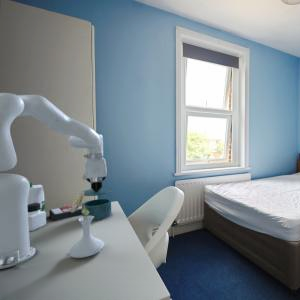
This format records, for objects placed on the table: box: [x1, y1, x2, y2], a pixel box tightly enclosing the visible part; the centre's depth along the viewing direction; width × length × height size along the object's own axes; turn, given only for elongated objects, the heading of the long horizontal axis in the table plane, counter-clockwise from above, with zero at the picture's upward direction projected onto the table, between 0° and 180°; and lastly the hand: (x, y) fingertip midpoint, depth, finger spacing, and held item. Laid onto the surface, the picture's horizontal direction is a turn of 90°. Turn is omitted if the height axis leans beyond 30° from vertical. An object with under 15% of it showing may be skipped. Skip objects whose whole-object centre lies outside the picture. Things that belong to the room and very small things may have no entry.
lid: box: [80, 181, 113, 197], centre depth 115 cm, size 15×15×6 cm
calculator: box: [48, 204, 82, 222], centre depth 118 cm, size 11×4×15 cm
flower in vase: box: [68, 191, 105, 259], centre depth 79 cm, size 13×11×25 cm
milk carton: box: [28, 182, 46, 212], centre depth 111 cm, size 9×9×20 cm
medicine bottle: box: [27, 203, 47, 232], centre depth 102 cm, size 7×7×12 cm
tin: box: [81, 198, 112, 222], centre depth 115 cm, size 14×14×8 cm
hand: (96, 189), depth 115 cm, fingers closed on lid, 2 cm apart
